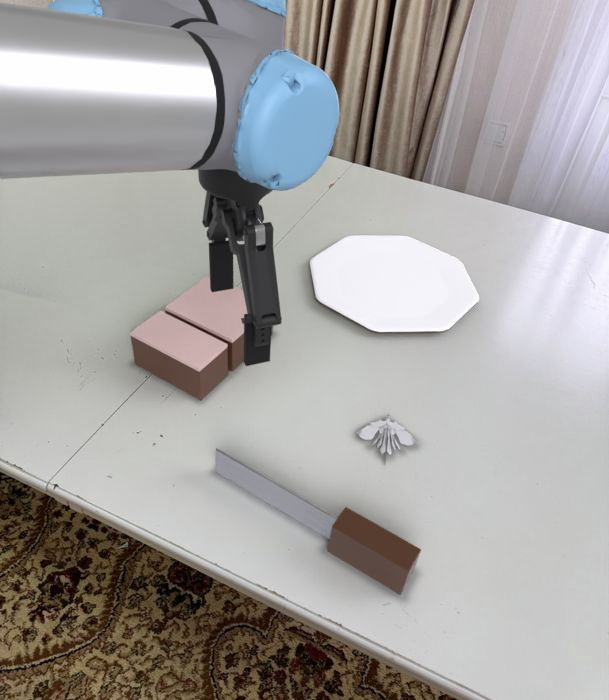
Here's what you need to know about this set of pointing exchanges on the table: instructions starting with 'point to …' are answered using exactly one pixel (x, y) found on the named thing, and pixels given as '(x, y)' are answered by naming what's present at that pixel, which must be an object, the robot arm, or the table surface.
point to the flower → (386, 434)
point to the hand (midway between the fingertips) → (238, 323)
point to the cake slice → (180, 354)
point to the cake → (214, 316)
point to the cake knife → (333, 527)
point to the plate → (393, 284)
